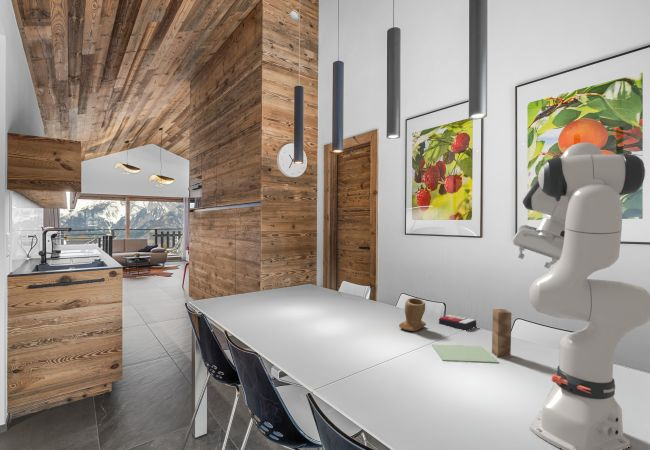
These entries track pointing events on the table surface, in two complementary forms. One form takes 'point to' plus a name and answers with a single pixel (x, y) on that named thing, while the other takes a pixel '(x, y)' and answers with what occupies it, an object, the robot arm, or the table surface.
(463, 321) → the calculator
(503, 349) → the walnut pillar
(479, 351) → the mat
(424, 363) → the table surface
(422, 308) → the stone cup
